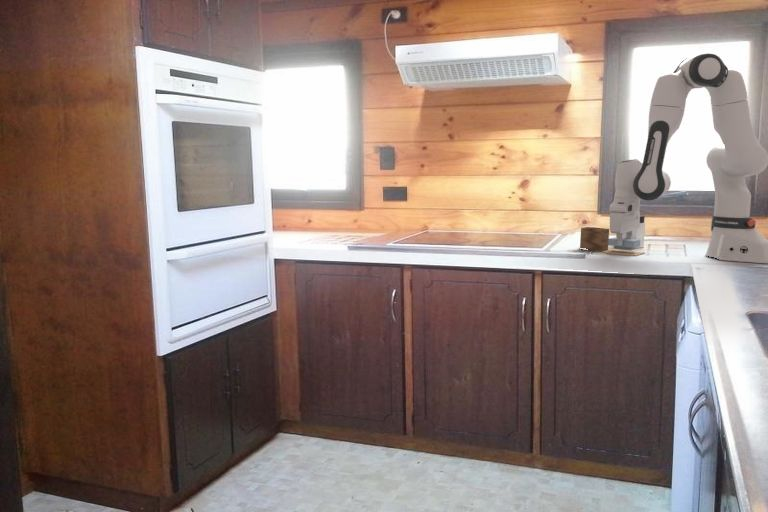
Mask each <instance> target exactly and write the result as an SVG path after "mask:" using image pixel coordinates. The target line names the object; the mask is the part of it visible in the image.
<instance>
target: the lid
mask: <svg viewBox="0 0 768 512" xmlns="http://www.w3.org/2000/svg"><path fill="white" fill-rule="evenodd" d="M623 240H624V245H622V246H620V245H617V241H618V240H617V237H616V236H615V237H609V242H608V247H609V246H611V247H613V249H617V250H627V251H635V249H636V248H635V247H639V246H640V239H630V238H623Z"/></svg>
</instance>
